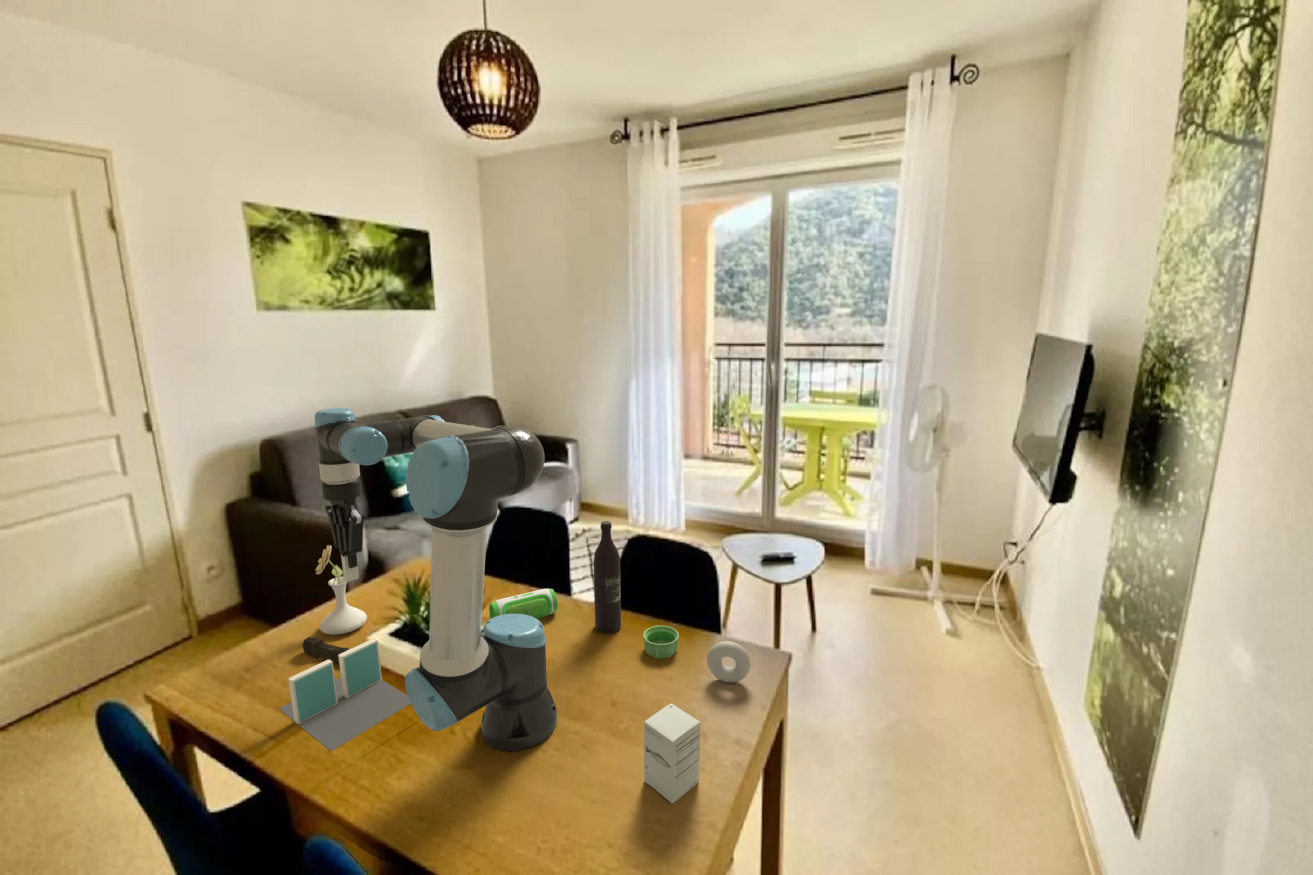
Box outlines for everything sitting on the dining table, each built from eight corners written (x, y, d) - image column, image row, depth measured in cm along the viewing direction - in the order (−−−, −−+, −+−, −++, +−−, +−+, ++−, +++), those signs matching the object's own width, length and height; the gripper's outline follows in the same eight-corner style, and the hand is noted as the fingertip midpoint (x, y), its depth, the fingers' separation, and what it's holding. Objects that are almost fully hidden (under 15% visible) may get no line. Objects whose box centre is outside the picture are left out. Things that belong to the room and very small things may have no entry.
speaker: (496, 634, 151) (494, 608, 149) (489, 622, 157) (487, 597, 156) (558, 617, 160) (557, 593, 158) (550, 606, 166) (549, 582, 164)
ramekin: (636, 649, 144) (635, 633, 143) (662, 636, 150) (662, 621, 149) (659, 665, 137) (659, 648, 136) (686, 651, 143) (686, 635, 142)
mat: (416, 702, 123) (415, 700, 123) (331, 754, 109) (331, 751, 109) (361, 669, 136) (361, 666, 135) (278, 711, 121) (278, 708, 121)
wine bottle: (605, 637, 149) (603, 529, 143) (589, 626, 154) (587, 522, 148) (626, 627, 154) (624, 523, 148) (610, 617, 159) (608, 516, 153)
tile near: (338, 703, 122) (332, 661, 120) (298, 724, 116) (292, 681, 114) (334, 700, 123) (328, 659, 121) (294, 721, 117) (288, 678, 115)
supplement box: (642, 782, 102) (642, 720, 100) (671, 760, 107) (671, 701, 105) (672, 806, 97) (672, 742, 94) (700, 782, 102) (701, 720, 100)
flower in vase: (329, 619, 159) (318, 534, 154) (373, 615, 161) (363, 532, 156) (310, 644, 146) (298, 553, 141) (358, 640, 148) (347, 550, 143)
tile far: (382, 679, 131) (378, 640, 129) (347, 698, 124) (342, 657, 122) (378, 677, 131) (373, 638, 130) (343, 695, 125) (338, 654, 123)
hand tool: (368, 663, 138) (366, 646, 137) (354, 672, 135) (352, 655, 134) (314, 647, 145) (312, 631, 144) (299, 655, 142) (297, 638, 141)
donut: (705, 682, 130) (706, 643, 128) (707, 673, 134) (708, 635, 132) (749, 689, 128) (750, 649, 126) (750, 680, 131) (751, 640, 129)
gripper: (373, 481, 122) (383, 581, 128) (343, 470, 130) (353, 565, 135) (338, 489, 116) (349, 594, 122) (308, 477, 124) (320, 577, 129)
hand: (351, 579), depth 128 cm, fingers closed
